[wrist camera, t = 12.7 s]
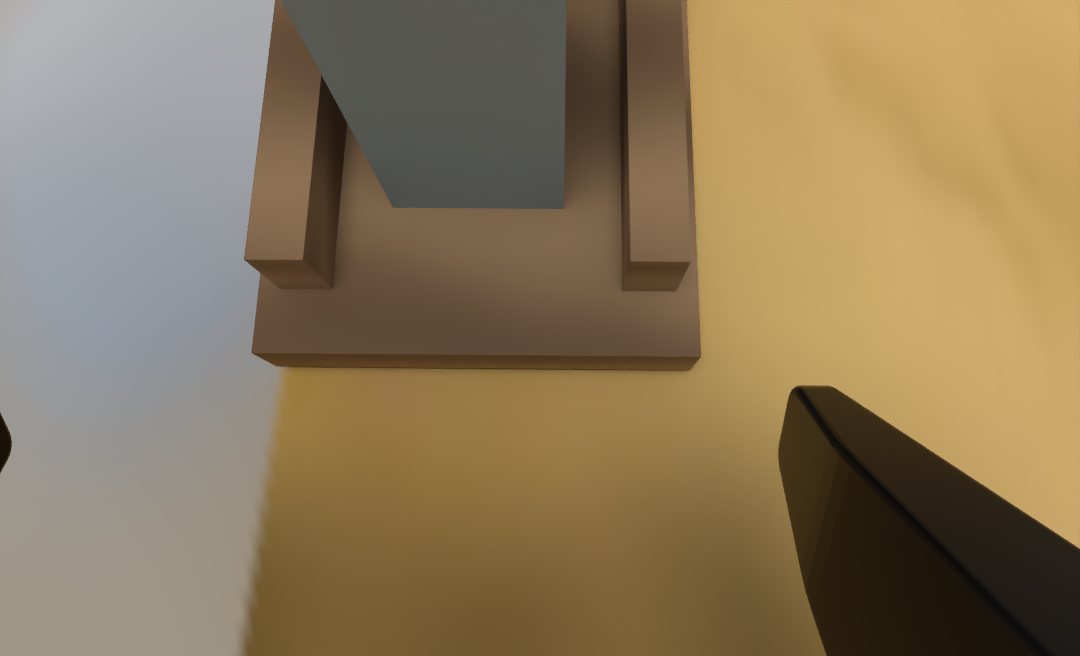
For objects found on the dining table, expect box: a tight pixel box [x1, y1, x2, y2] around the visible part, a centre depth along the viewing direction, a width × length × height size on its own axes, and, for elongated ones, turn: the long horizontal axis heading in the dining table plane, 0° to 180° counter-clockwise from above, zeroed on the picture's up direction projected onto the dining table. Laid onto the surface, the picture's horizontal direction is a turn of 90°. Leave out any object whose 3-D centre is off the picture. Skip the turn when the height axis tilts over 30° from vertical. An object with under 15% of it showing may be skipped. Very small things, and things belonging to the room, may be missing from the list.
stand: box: [244, 0, 701, 370], centre depth 18 cm, size 12×10×4 cm
